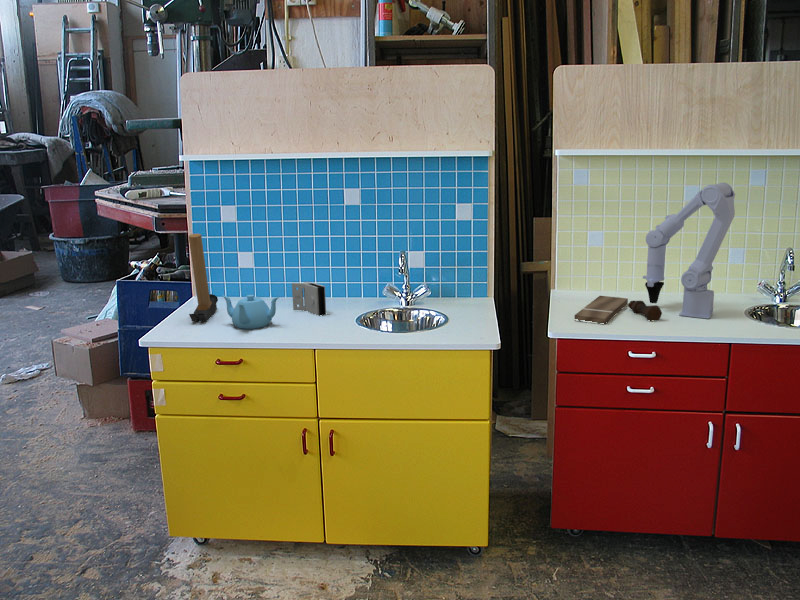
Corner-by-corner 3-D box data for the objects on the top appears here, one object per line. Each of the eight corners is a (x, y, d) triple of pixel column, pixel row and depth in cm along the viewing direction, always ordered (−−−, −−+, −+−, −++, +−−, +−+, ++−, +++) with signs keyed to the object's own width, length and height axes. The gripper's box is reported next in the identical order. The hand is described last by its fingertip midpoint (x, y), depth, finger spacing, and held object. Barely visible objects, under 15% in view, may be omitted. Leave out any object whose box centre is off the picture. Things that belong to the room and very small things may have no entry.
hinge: (292, 310, 267) (291, 283, 265) (303, 307, 271) (302, 280, 269) (320, 316, 259) (319, 287, 256) (331, 313, 263) (330, 285, 261)
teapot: (264, 317, 260) (262, 288, 257) (283, 326, 247) (281, 296, 245) (223, 324, 252) (221, 294, 249) (241, 334, 240) (238, 303, 237)
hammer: (206, 329, 253) (194, 246, 241) (191, 329, 253) (179, 246, 241) (219, 304, 272) (209, 225, 259) (205, 304, 272) (194, 225, 259)
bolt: (634, 315, 260) (656, 325, 246) (622, 309, 259) (643, 318, 244) (642, 300, 260) (664, 309, 245) (630, 294, 258) (652, 302, 244)
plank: (627, 303, 267) (627, 298, 267) (604, 324, 242) (605, 318, 242) (599, 300, 272) (599, 295, 272) (574, 321, 247) (574, 314, 247)
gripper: (648, 259, 267) (646, 297, 270) (639, 267, 254) (636, 306, 258) (669, 261, 263) (666, 299, 266) (660, 269, 251) (658, 308, 254)
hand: (653, 302), depth 262 cm, fingers closed
